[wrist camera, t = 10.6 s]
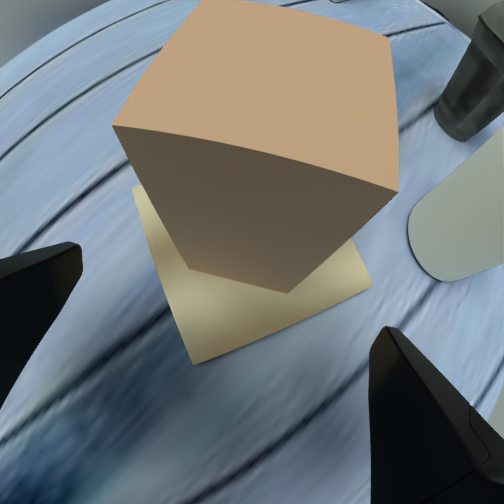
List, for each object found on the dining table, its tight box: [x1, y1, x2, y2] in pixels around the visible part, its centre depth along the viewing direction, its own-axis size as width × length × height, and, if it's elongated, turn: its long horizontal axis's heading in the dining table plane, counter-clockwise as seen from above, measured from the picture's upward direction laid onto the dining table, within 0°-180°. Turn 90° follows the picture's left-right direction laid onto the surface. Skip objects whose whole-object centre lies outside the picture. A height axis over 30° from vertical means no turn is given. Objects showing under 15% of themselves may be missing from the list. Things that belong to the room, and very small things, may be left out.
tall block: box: [112, 0, 399, 294], centre depth 12 cm, size 6×6×12 cm
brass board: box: [132, 184, 373, 365], centre depth 18 cm, size 11×11×1 cm
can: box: [408, 126, 504, 282], centre depth 14 cm, size 6×6×12 cm
